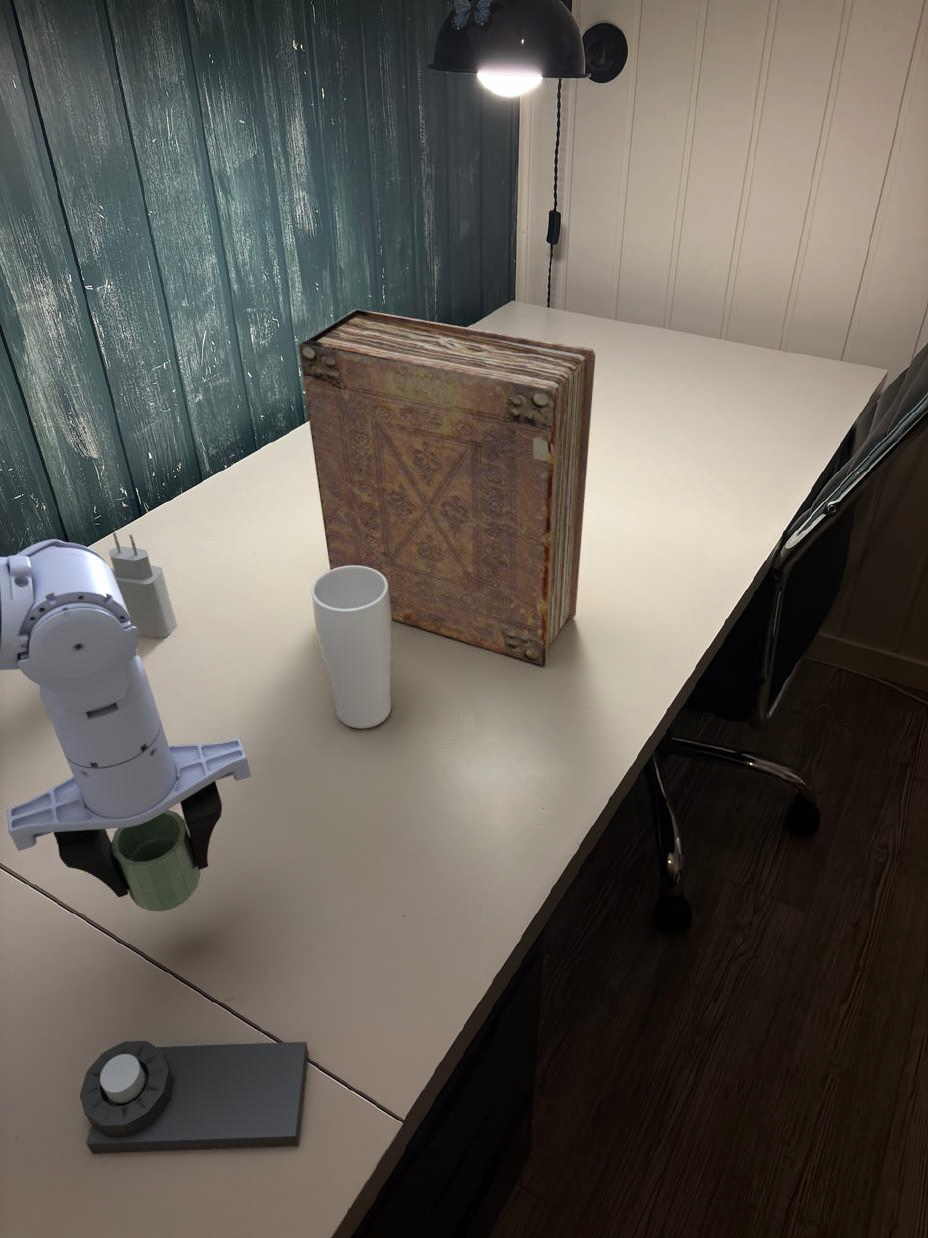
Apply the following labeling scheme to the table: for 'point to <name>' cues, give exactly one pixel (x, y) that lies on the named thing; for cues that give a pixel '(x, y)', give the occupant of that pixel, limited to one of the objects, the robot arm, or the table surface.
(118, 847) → the green faceted cup
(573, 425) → the book
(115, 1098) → the button
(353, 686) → the drinking glass
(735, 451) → the table surface
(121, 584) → the power adapter
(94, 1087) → the scale
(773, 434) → the table surface
